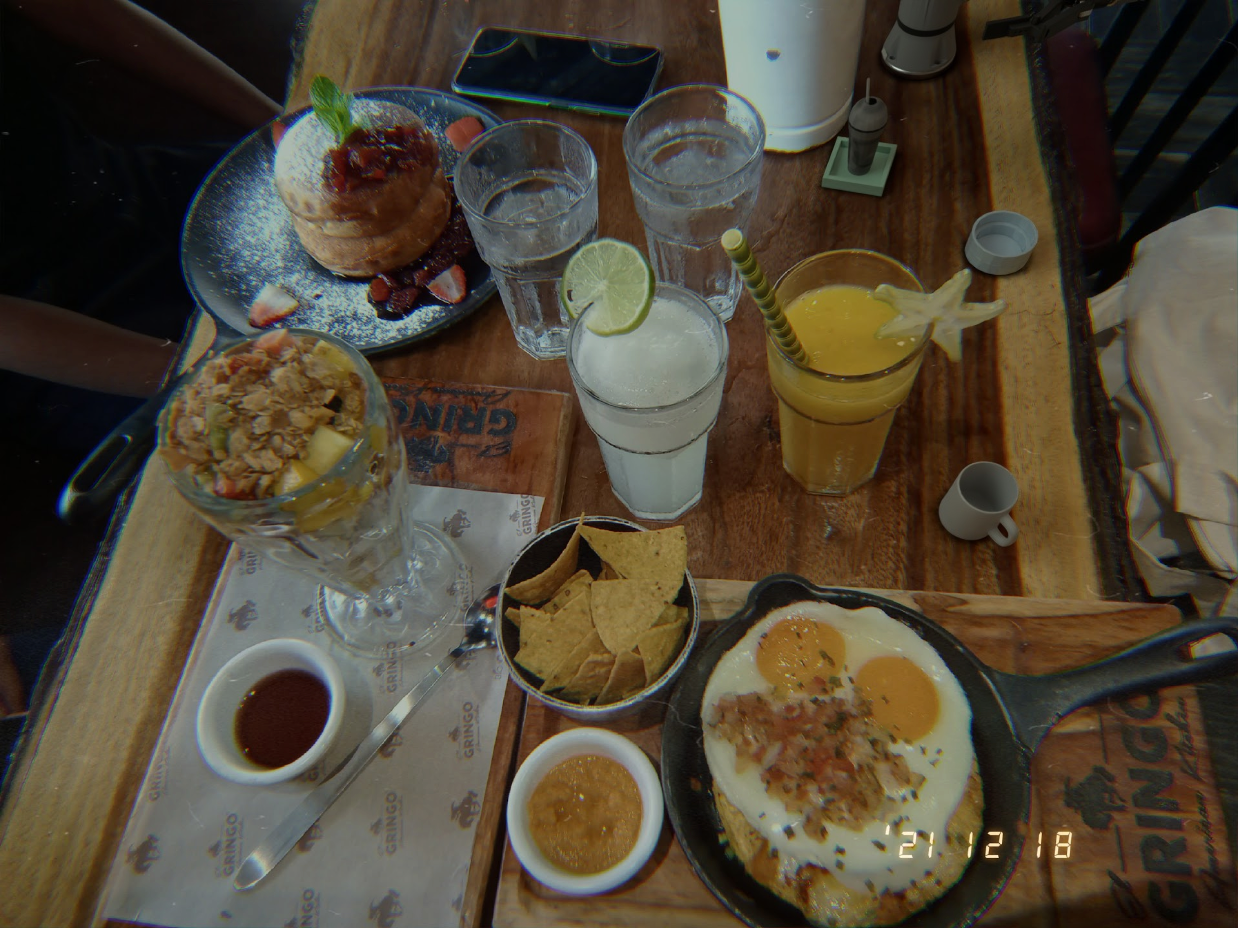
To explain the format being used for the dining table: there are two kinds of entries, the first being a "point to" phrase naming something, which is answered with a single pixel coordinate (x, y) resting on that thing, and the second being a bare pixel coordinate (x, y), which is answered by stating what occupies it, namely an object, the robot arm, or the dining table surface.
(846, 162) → the tray
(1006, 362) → the dining table surface
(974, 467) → the mug
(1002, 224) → the bowl
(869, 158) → the beverage cup
